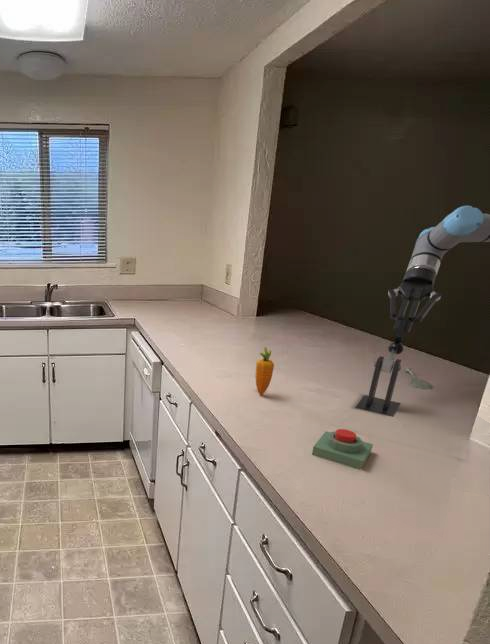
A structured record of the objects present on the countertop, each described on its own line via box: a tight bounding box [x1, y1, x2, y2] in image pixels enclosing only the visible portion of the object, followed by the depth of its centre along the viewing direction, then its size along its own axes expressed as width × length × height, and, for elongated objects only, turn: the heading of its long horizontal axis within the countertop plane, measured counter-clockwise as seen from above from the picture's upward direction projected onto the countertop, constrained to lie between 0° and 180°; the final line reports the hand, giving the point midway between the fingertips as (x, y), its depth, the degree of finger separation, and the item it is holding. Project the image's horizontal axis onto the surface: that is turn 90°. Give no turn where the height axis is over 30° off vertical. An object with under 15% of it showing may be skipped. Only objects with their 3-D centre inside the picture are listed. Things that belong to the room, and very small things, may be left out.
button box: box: [311, 430, 374, 470], centre depth 100 cm, size 10×10×4 cm
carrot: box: [255, 346, 275, 396], centre depth 131 cm, size 5×5×15 cm
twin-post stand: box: [354, 355, 402, 418], centre depth 120 cm, size 12×9×15 cm
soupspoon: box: [404, 366, 433, 390], centre depth 143 cm, size 22×3×7 cm
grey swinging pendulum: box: [381, 341, 405, 374], centre depth 121 cm, size 13×4×4 cm, turn 138°
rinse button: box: [335, 428, 357, 443], centre depth 99 cm, size 4×4×2 cm
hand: (397, 339), depth 124 cm, fingers closed
